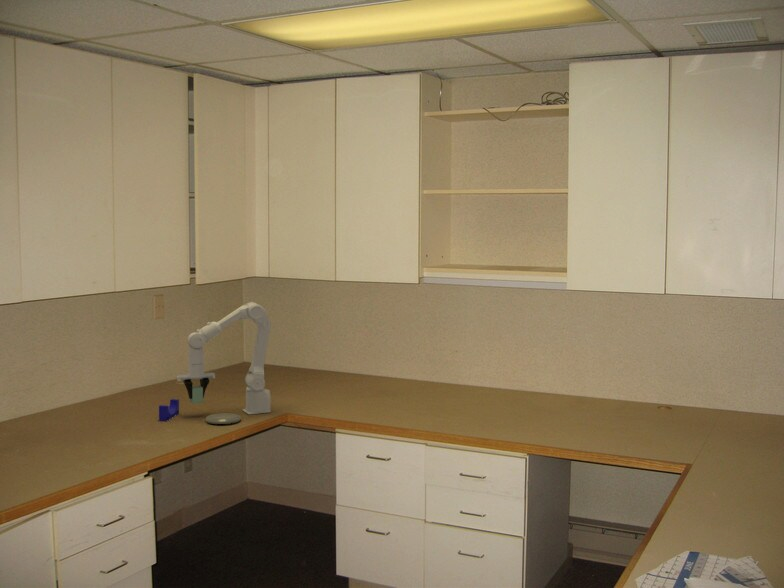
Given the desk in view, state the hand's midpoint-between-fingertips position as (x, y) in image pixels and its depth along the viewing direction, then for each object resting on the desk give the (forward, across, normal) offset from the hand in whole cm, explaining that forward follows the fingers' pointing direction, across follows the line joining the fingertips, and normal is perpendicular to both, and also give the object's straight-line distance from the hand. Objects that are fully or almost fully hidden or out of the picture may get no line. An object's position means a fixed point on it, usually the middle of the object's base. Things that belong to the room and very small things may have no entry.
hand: (196, 397), depth 313 cm
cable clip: (+8, +10, -3) cm, 13 cm away
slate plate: (+7, -7, +12) cm, 16 cm away
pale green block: (+2, 0, 0) cm, 2 cm away
